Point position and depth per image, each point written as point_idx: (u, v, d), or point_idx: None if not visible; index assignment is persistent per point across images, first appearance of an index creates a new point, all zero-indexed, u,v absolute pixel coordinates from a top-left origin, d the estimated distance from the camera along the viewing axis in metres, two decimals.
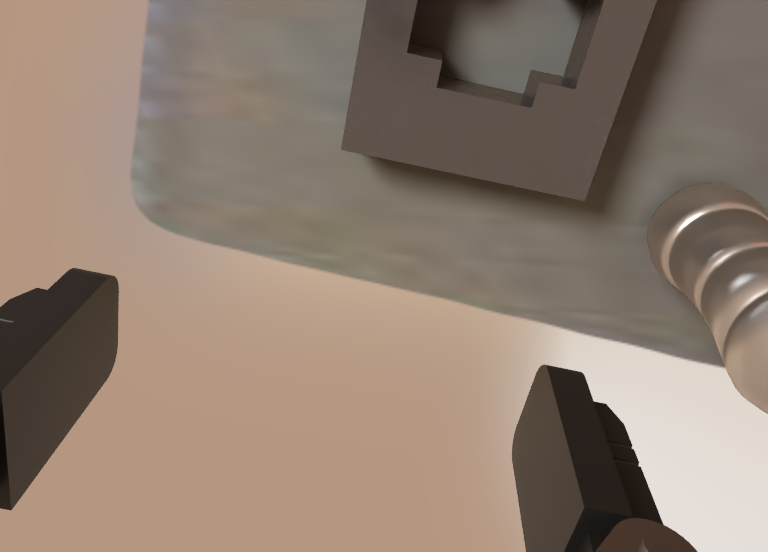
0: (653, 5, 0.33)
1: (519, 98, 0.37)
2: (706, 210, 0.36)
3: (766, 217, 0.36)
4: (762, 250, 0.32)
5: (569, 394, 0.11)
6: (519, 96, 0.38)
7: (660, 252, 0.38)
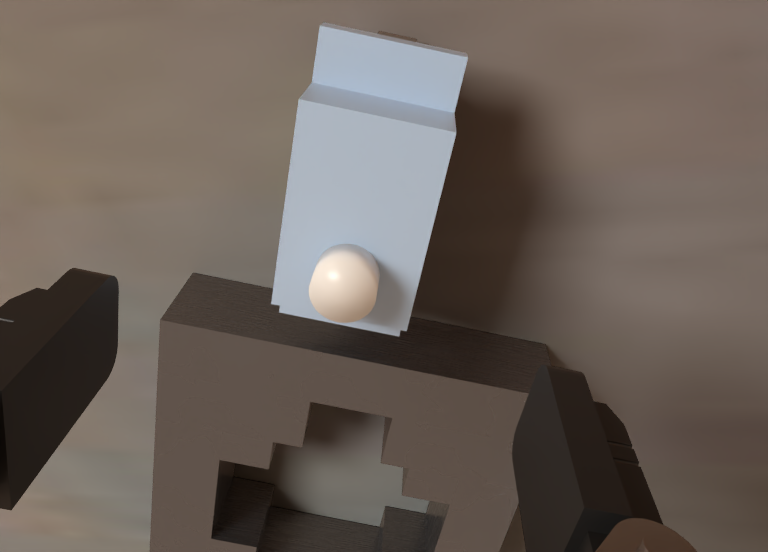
0: (513, 511, 0.26)
1: None
2: None
3: None
4: None
5: (569, 394, 0.11)
6: (370, 542, 0.31)
7: None
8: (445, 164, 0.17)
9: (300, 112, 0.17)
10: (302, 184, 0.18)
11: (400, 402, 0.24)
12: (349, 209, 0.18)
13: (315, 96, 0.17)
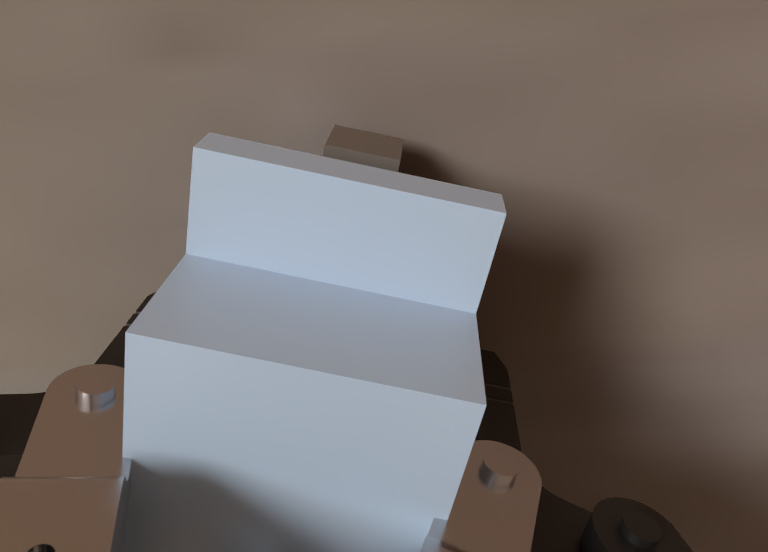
0: None
1: None
2: None
3: None
4: None
5: None
6: None
7: None
8: (460, 462, 0.08)
9: (133, 357, 0.07)
10: (152, 487, 0.08)
11: None
12: (256, 531, 0.08)
13: (173, 311, 0.08)
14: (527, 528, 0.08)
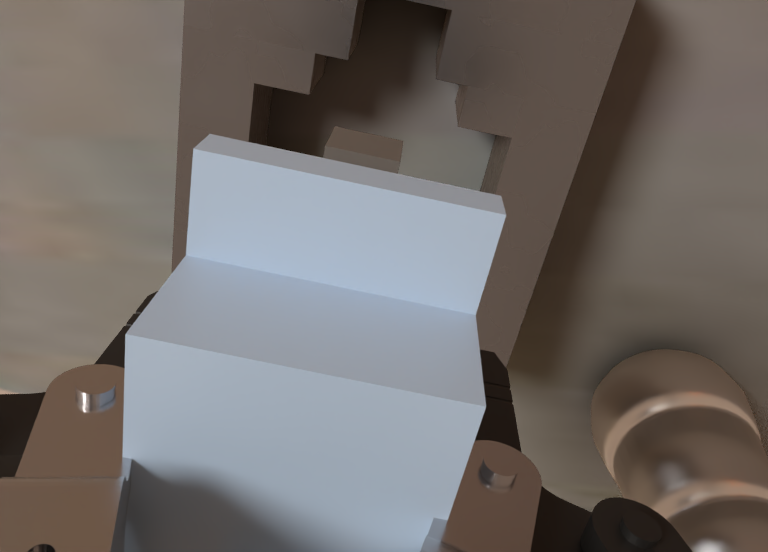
0: (582, 145, 0.23)
1: None
2: (662, 406, 0.27)
3: (744, 415, 0.27)
4: (732, 507, 0.22)
5: None
6: None
7: (603, 447, 0.29)
8: (459, 463, 0.08)
9: (133, 358, 0.07)
10: (153, 488, 0.08)
11: None
12: (255, 531, 0.09)
13: (173, 313, 0.08)
14: (527, 528, 0.08)
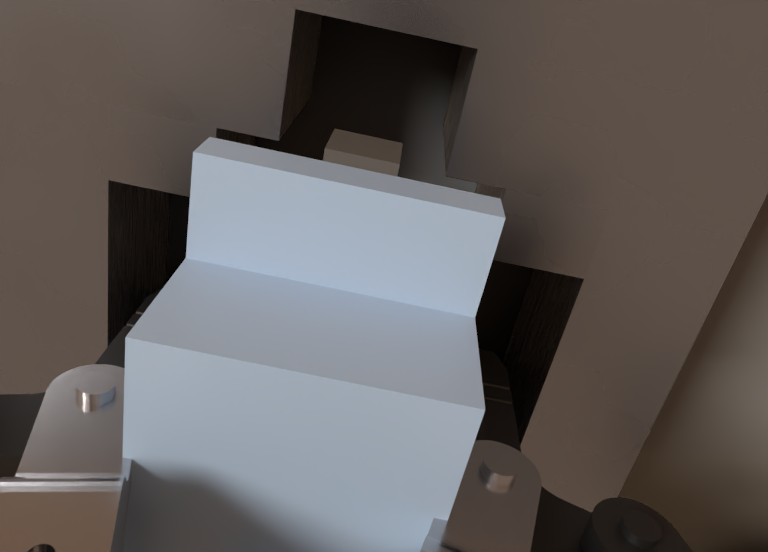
0: (714, 292, 0.13)
1: None
2: None
3: None
4: None
5: None
6: None
7: None
8: (459, 466, 0.08)
9: (133, 361, 0.07)
10: (152, 490, 0.08)
11: (498, 1, 0.11)
12: (255, 534, 0.09)
13: (173, 316, 0.08)
14: (527, 528, 0.08)
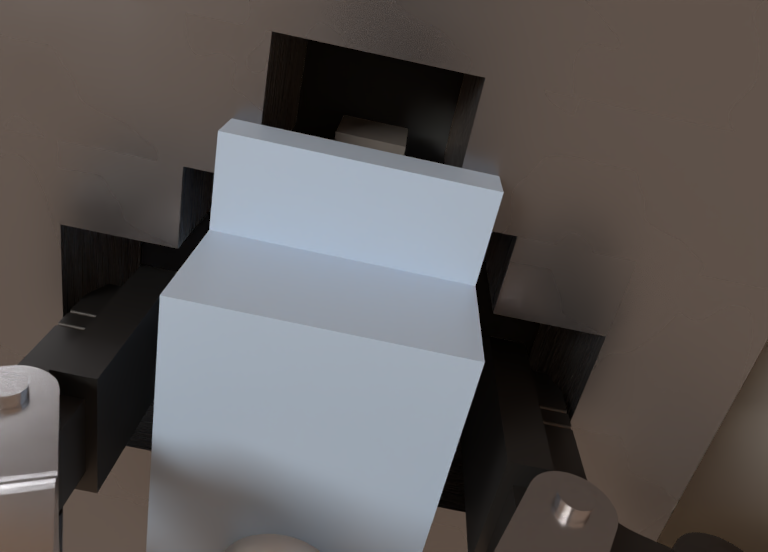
0: (755, 352, 0.11)
1: None
2: None
3: None
4: None
5: (508, 362, 0.12)
6: None
7: None
8: (460, 416, 0.09)
9: (165, 318, 0.08)
10: (180, 440, 0.09)
11: (510, 23, 0.09)
12: (274, 481, 0.09)
13: (201, 278, 0.09)
14: None
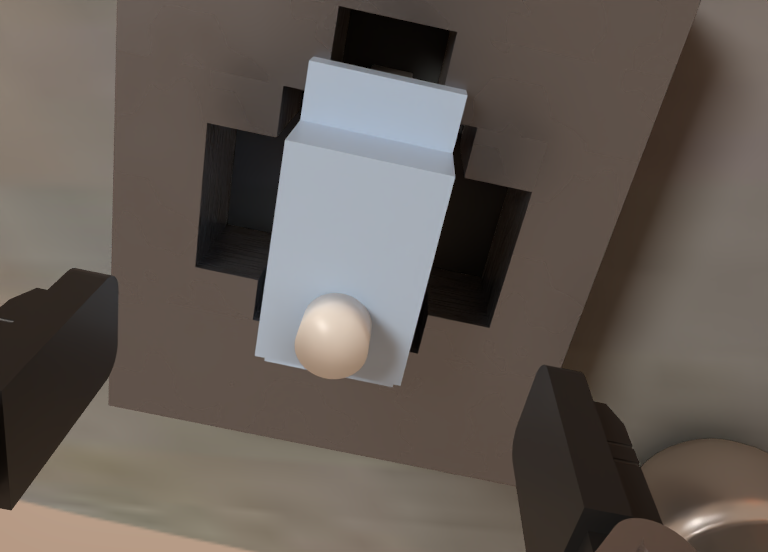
0: (621, 201, 0.18)
1: None
2: (717, 519, 0.22)
3: None
4: None
5: (569, 394, 0.11)
6: None
7: None
8: (443, 210, 0.16)
9: (286, 154, 0.16)
10: (288, 230, 0.16)
11: (470, 1, 0.16)
12: (339, 256, 0.17)
13: (303, 136, 0.16)
14: None
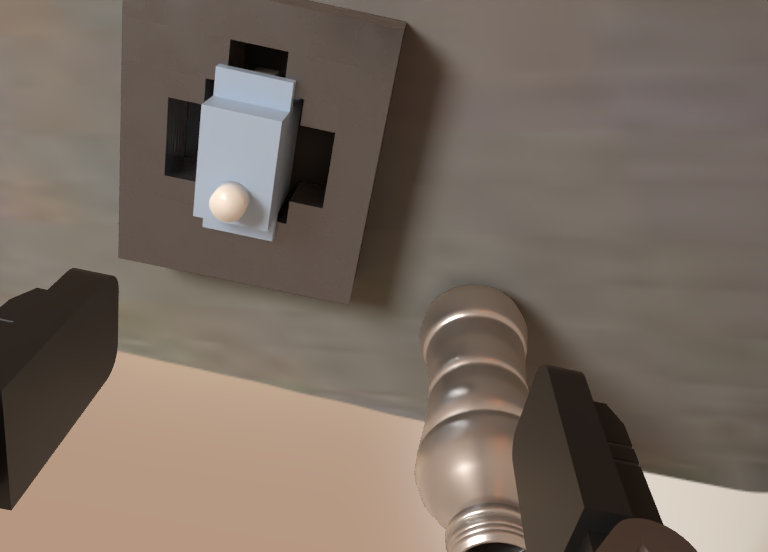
0: (380, 137, 0.36)
1: (285, 209, 0.40)
2: (453, 317, 0.39)
3: (509, 323, 0.39)
4: (471, 368, 0.34)
5: (569, 394, 0.11)
6: (288, 206, 0.41)
7: (422, 351, 0.41)
8: (278, 138, 0.33)
9: (202, 111, 0.33)
10: (206, 148, 0.34)
11: (293, 37, 0.34)
12: (231, 162, 0.34)
13: (211, 103, 0.33)
14: None
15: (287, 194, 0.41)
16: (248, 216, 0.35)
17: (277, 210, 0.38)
